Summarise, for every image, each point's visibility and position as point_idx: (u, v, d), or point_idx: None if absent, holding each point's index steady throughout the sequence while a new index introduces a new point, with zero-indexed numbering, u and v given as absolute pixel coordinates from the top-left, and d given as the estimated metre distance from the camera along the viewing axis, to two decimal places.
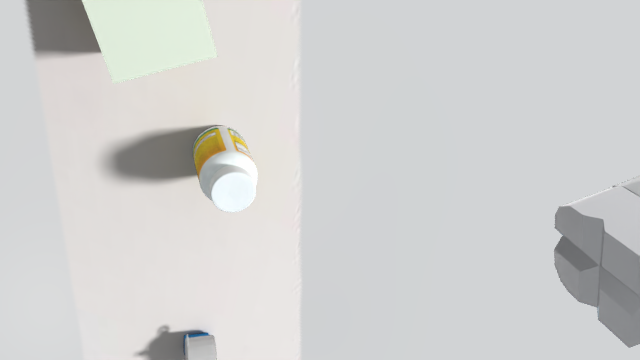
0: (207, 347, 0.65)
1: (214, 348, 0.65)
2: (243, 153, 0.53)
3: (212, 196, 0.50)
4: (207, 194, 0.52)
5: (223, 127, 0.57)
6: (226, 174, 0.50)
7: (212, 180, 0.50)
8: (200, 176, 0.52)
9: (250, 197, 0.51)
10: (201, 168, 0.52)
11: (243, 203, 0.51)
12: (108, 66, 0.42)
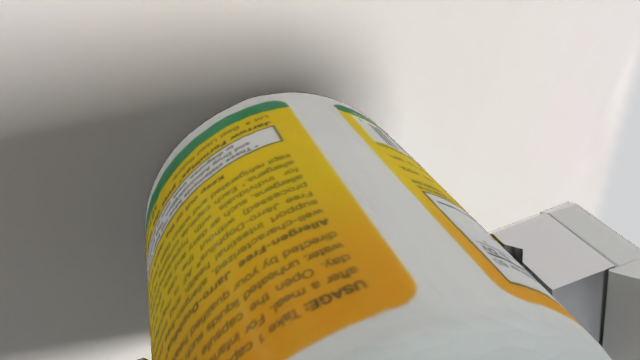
0: None
1: None
2: (550, 303, 0.06)
3: None
4: None
5: (313, 102, 0.10)
6: None
7: None
8: None
9: None
10: None
11: None
12: None
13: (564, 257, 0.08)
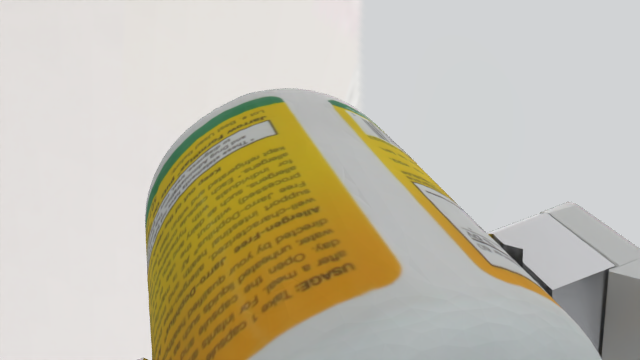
0: None
1: None
2: (531, 286, 0.06)
3: None
4: None
5: (308, 97, 0.10)
6: None
7: None
8: None
9: None
10: None
11: None
12: None
13: (565, 257, 0.08)
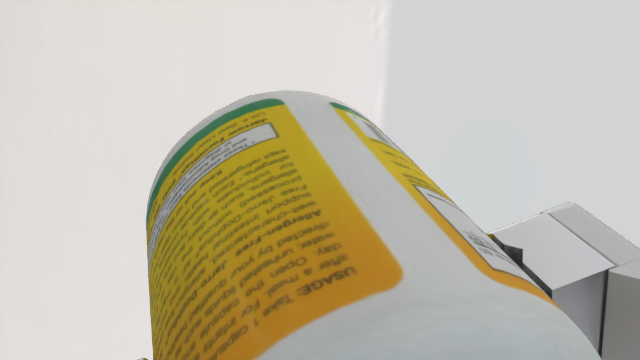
0: None
1: None
2: (532, 289, 0.06)
3: None
4: None
5: (309, 100, 0.10)
6: None
7: None
8: None
9: None
10: None
11: None
12: None
13: (565, 257, 0.08)
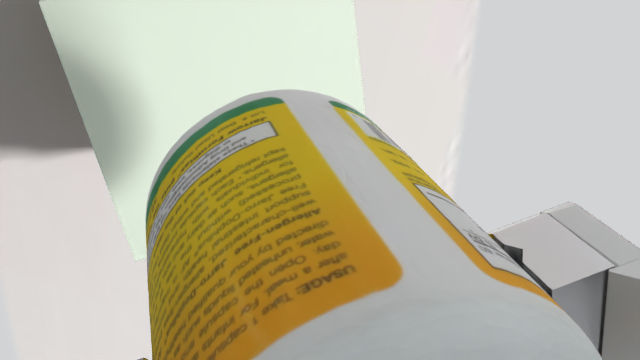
0: None
1: None
2: (532, 287, 0.06)
3: None
4: None
5: (308, 98, 0.10)
6: None
7: None
8: None
9: None
10: None
11: None
12: (125, 224, 0.17)
13: (565, 256, 0.08)
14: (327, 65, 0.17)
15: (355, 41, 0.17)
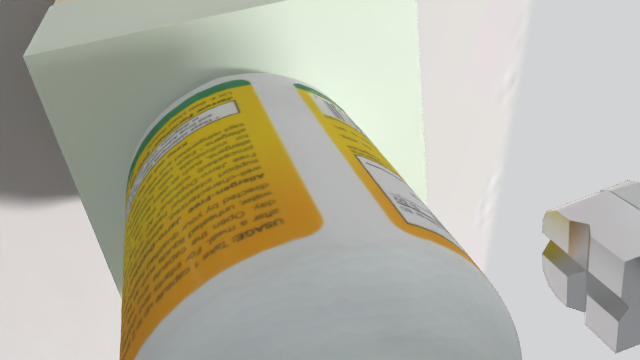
0: None
1: None
2: (442, 241, 0.07)
3: None
4: None
5: (275, 81, 0.11)
6: None
7: None
8: None
9: None
10: None
11: None
12: None
13: (633, 231, 0.08)
14: (383, 122, 0.14)
15: (418, 93, 0.14)
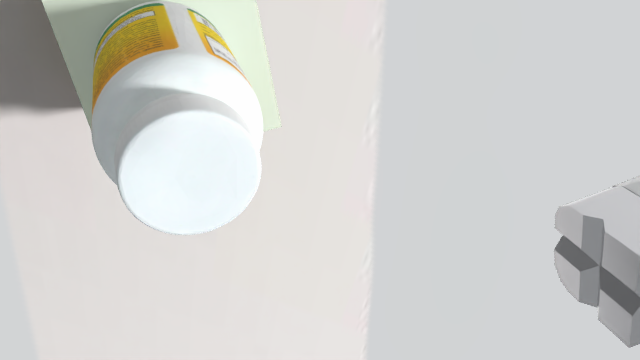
0: None
1: None
2: (228, 62, 0.18)
3: (122, 183, 0.16)
4: (113, 175, 0.18)
5: (177, 5, 0.22)
6: (173, 115, 0.15)
7: (125, 132, 0.16)
8: (94, 119, 0.17)
9: (242, 194, 0.17)
10: (99, 96, 0.17)
11: (219, 210, 0.17)
12: None
13: None
14: (238, 30, 0.24)
15: (257, 14, 0.24)
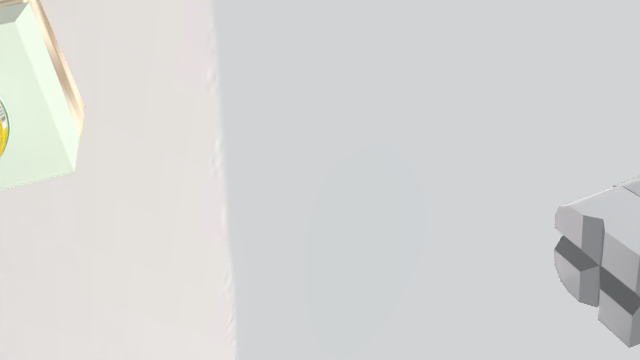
0: None
1: None
2: None
3: None
4: None
5: None
6: None
7: None
8: None
9: None
10: None
11: None
12: None
13: None
14: (19, 92, 0.28)
15: (35, 78, 0.28)
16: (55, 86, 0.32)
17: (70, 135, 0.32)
